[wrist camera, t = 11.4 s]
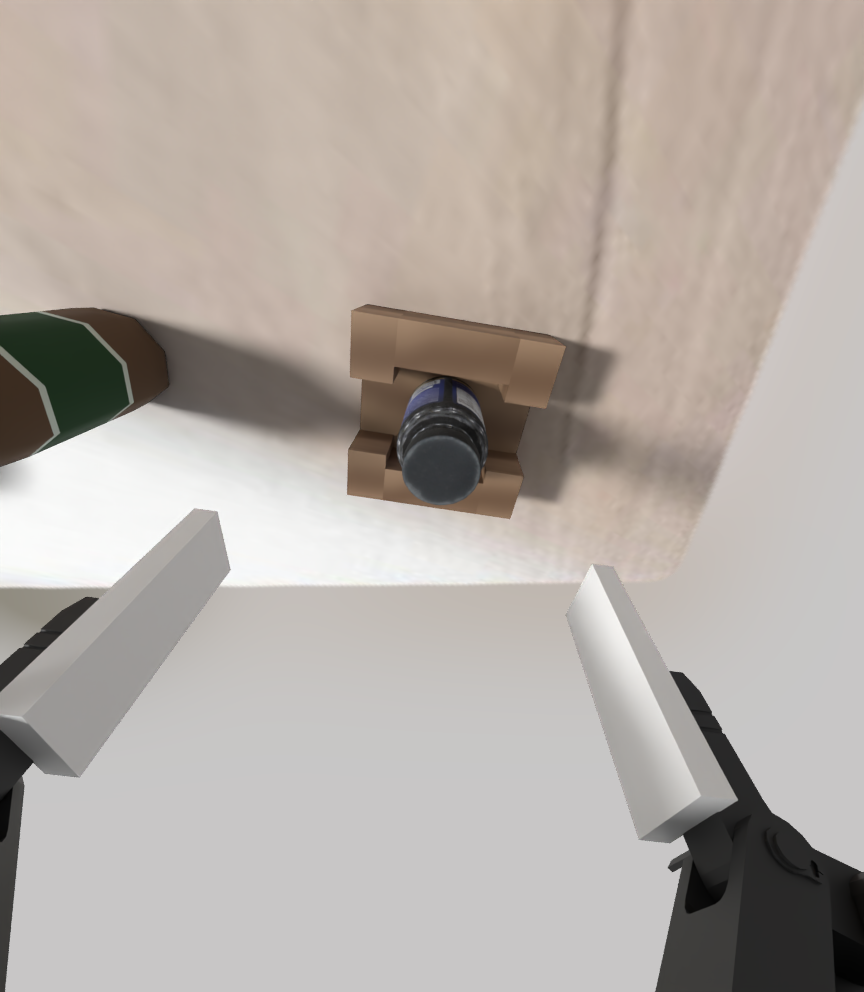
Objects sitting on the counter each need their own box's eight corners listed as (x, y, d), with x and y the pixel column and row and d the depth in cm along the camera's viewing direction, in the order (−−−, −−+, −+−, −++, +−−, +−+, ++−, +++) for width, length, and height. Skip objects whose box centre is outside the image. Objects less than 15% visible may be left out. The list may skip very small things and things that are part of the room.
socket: (367, 304, 27) (351, 310, 23) (548, 334, 28) (565, 346, 23) (360, 467, 35) (347, 494, 30) (503, 489, 35) (510, 519, 31)
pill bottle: (407, 442, 32) (389, 512, 23) (407, 372, 29) (386, 420, 20) (477, 446, 32) (487, 518, 23) (484, 375, 29) (499, 425, 19)
